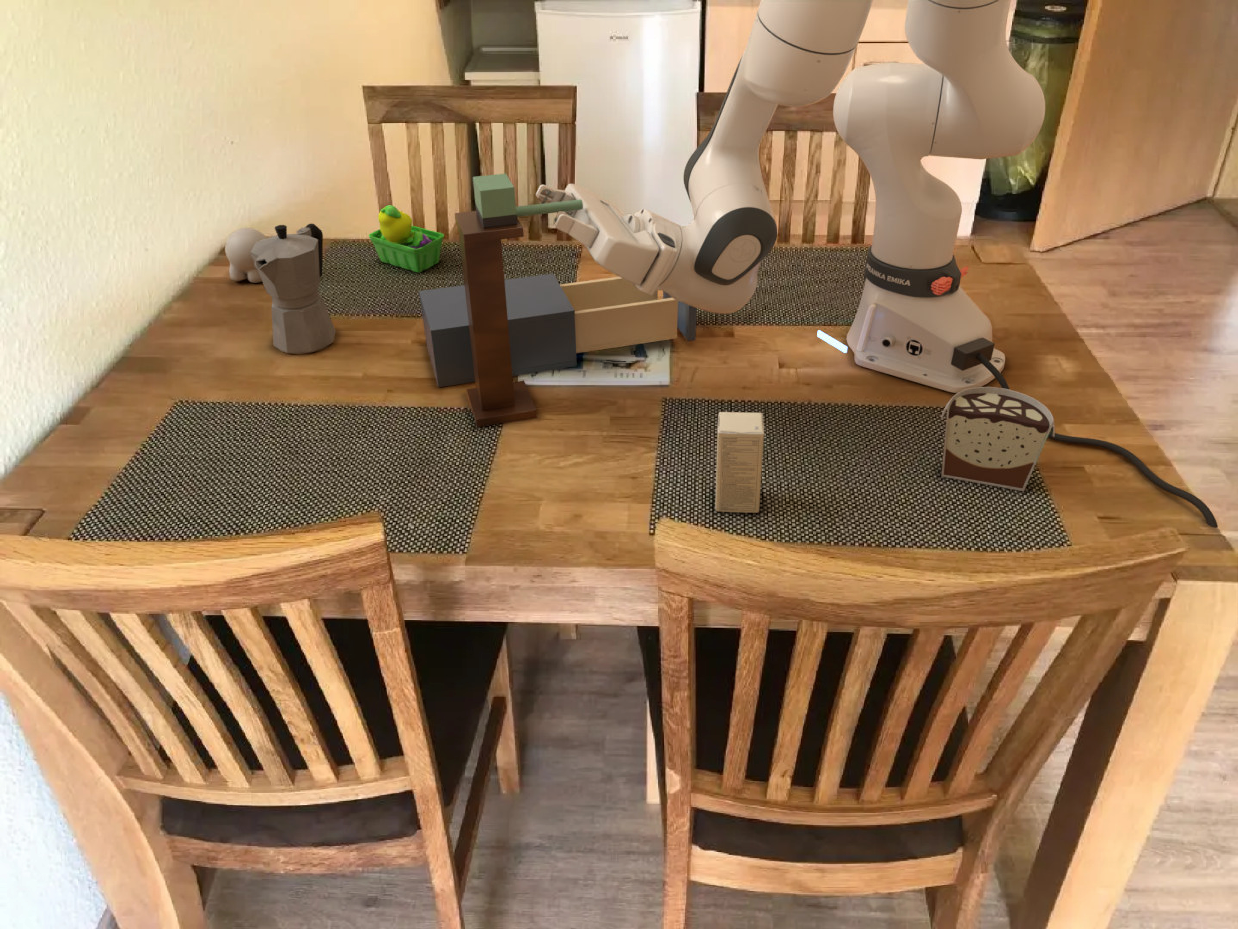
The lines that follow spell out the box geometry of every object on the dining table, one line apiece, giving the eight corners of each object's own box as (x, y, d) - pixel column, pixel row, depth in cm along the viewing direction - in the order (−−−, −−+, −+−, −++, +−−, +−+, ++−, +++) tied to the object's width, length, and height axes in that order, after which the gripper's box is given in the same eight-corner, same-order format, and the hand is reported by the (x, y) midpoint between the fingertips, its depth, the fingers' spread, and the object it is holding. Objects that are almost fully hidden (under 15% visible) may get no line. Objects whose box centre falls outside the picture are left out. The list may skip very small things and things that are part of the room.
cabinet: (556, 326, 149) (553, 273, 144) (576, 366, 139) (574, 310, 134) (426, 345, 145) (418, 290, 140) (438, 387, 135) (430, 330, 130)
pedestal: (524, 387, 135) (510, 204, 120) (537, 417, 128) (524, 228, 113) (466, 396, 133) (445, 212, 118) (476, 427, 127) (455, 236, 111)
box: (758, 491, 115) (765, 412, 108) (759, 514, 111) (766, 433, 105) (713, 489, 115) (718, 410, 109) (712, 512, 112) (717, 431, 105)
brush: (483, 228, 113) (479, 190, 111) (476, 213, 117) (472, 176, 115) (587, 216, 116) (586, 179, 114) (576, 201, 120) (575, 165, 118)
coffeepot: (308, 365, 140) (282, 247, 130) (252, 356, 143) (222, 239, 132) (362, 318, 152) (342, 206, 142) (310, 310, 155) (286, 200, 144)
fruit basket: (449, 261, 170) (442, 198, 163) (415, 280, 164) (406, 215, 157) (400, 248, 175) (391, 186, 168) (365, 265, 169) (354, 202, 162)
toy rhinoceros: (293, 289, 161) (282, 240, 156) (224, 285, 163) (212, 236, 158) (310, 271, 167) (300, 223, 162) (244, 267, 168) (232, 220, 164)
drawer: (695, 303, 153) (697, 262, 149) (722, 336, 144) (725, 293, 140) (554, 323, 148) (551, 281, 144) (572, 358, 139) (571, 315, 135)
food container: (1037, 464, 119) (1058, 394, 113) (1037, 493, 114) (1059, 421, 108) (932, 446, 122) (947, 377, 116) (928, 474, 117) (943, 403, 111)
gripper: (630, 197, 130) (540, 154, 124) (681, 256, 114) (580, 210, 108) (608, 238, 133) (518, 198, 126) (655, 302, 117) (555, 260, 110)
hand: (547, 204), depth 117 cm, fingers open, 8 cm apart
